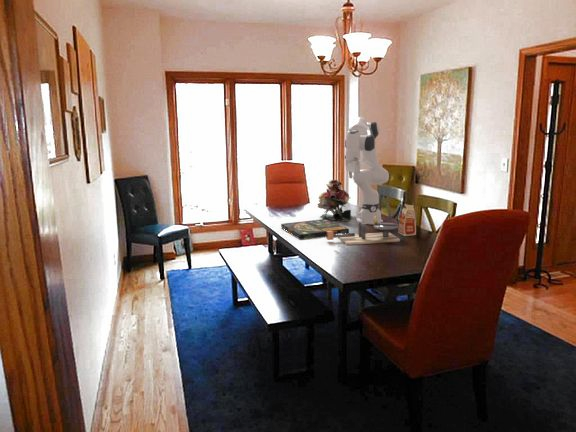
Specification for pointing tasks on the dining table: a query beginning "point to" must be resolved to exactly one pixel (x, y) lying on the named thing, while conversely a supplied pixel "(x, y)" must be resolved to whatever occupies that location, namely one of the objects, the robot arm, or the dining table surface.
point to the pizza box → (314, 228)
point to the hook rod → (337, 235)
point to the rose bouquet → (334, 202)
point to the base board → (369, 237)
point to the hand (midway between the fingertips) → (352, 179)
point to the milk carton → (407, 221)
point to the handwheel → (384, 225)
